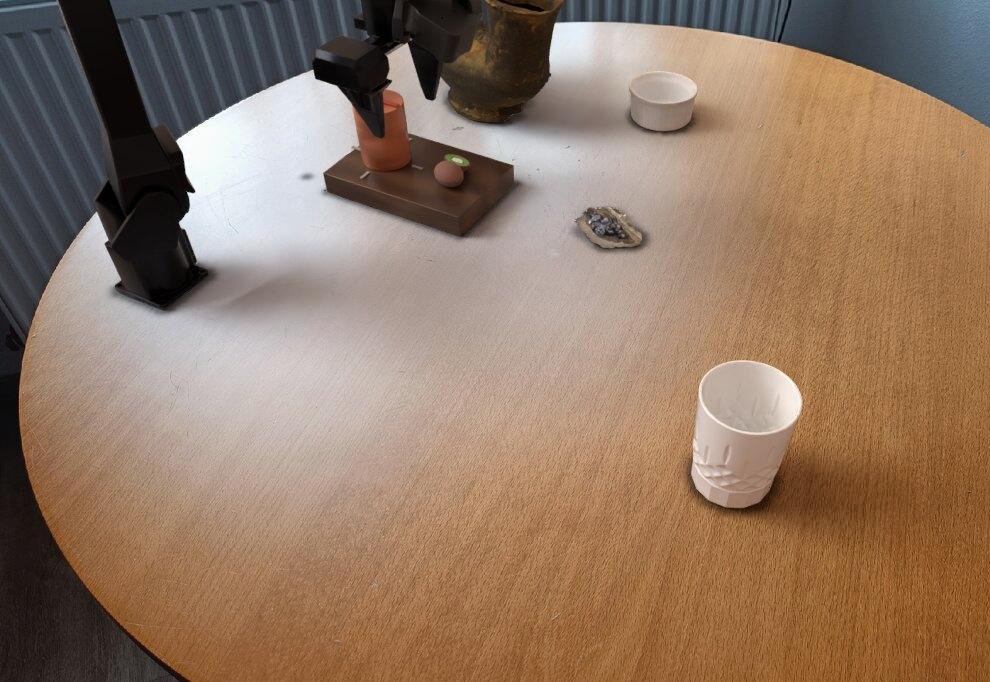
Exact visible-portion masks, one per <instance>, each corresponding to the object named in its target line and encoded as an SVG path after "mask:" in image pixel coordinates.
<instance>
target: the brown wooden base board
mask: <svg viewBox="0 0 990 682" xmlns="http://www.w3.org/2000/svg"><path fill="white" fill-rule="evenodd" d="M408 136H409V143H410V150H411V160H410V162H409V163H408V164H407V165H405V166H404V167H402V168H399V169H396V170H392V171H377V170H373V169H370V168H368V167H366V166H365V165H364V163H363V162H362V157H361V151H360V146H359V145H358V146H355V145H352V146H350V148H351V149H352V150H351V151H350V152H348V153H347V154H346V155H344V156H343V157H342V158H341V159H340V160H338V161H337V162H335V163H334V164H333V165H332V166H330V167H329V168H328V169H326V170H325V171H324V172H323V173H322V175H323V180H324V183H325V189H326V192H327V193H330V194H333V195H336V196H339V197H342V198H345V199H348V200H351V201H354V202H356V203H360V204H363V205H365V206H368V207H371V208H374V209H377V210H381V211H383V212H387V213H389V214H392V215H395V216H398V217H401V218H404V219H407V220H410V221H413V222H416V223H419V224H422V225H425V226H427V227H428V226H429V227H431V228H434V229H436V230H440V231H443V232H446V233H449V234H452V235H454V236H458V237H462V236H463V235H464V234H465V233H466V232H467V231H468V230H469V229H470V228H471V227H472V226H473V225H474V224H475V223H476V222H477V221H478V220H479V219H480V218H481V217H483V215H484V214H485V213H486V212H487V211H488V210H489V209H490V208H491V207H492V206H493V205H495V204H496V202H498V201H499V200H500V199H501V198H502V196H503V195H505V193H507V192H508V191H509V189H511V188H512V187H513V186H514V185H515V166H514V164H511V163H508V162H504V161H502V160H498V159H495V158H492V157H488V156H485V155H481V154H479V153H475V152H471V151H469V150H465V149H463V148H458V147H456V146H452V145H449V144H445V143H442V142H439V141H436V140H432V139H429V138H426V137H422V136H419V135H417V134H412V133H409V132H408ZM446 154H455V155H459V156H461V157H463V158H465V159H467V160H468V161H469V162H470V166H469V168H468V169H467V170H466V171H463V174H464V178H463V181H462V183H461V184H460V185H458V186H456V187H446V186H443V185H442V184H440V183H439V182H438V181H437V179H436V178H435V174H434V169H435V167H436V165H437V164H438V163H440V162H442V161H445V160H444V156H445V155H446Z"/></svg>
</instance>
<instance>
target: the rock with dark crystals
mask: <svg viewBox="0 0 990 682" xmlns="http://www.w3.org/2000/svg"><path fill="white" fill-rule="evenodd" d="M626 217H627V213H624V214H622V212H621V211H620V209H618V208H616V207H614V208H613V207H612V206H604V207H603V206H602V207H600V208H599V207H598V206H597V207H593V206H589V207H587V208H586V210H584V211H583V212H582V217H581V216H579V217H576V218H573V219H574V223H575V224H576V223H577V227H578V228H579V230H581V231H582V232H583V233H586V235H585V236H586V237H588V238H589V240H590V241H591V242H592V243H595V244H597V245H599V246H600V248H602V249H607V248H608V249H615V248H634V247H638V246H639V245H641V242H642V241H643V235H642V233H641V232H639V230H637V229H636V227H634V226H633V227H632V226H630V225H629V224H628V223H631V222H632V220H628V219H627V218H626Z"/></svg>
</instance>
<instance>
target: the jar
mask: <svg viewBox="0 0 990 682" xmlns="http://www.w3.org/2000/svg"><path fill="white" fill-rule="evenodd" d="M383 103H384V117H385V137H383V138H378V137H375V136H374V135H373V134H372V132H371V131H370V129H369V128H368V126H367V125H366V124H365V122H364V121H363V119H362V118H361V116H360V115H359V114H358V112H357V111H356V109H355V108H354V107H353V105H352V104H351V107H352V114H353V119H354V124H355V129H356V135H357V141H358V146H360V151H361V157H362V162H363V163H364V165H365V166H366V167H368V168H370V169H373V170H377V171H392V170H396V169H399V168H402V167H404V166H405V165H407V164H408V163H409V162H410V160H411V150H410V143H409V136H408V133H409V130H408V122H407V115H406V114H407V113H406V108H405V101H404V97H403V96H402V94H400V93H399V92H397V91H394V90H391V89H387V88H386V89H385V90H384V91H383Z"/></svg>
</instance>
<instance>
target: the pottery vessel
mask: <svg viewBox="0 0 990 682" xmlns="http://www.w3.org/2000/svg"><path fill="white" fill-rule="evenodd" d="M483 2H484V5H485V9H486V13H487V18H488V23H487V22H484V27H483V28H482V29H481V30H479V31H478V32H476V34H475V37H474V41H473V44H472V48H471V50H470V51H469V52H466V53H464V54H463V55H461V56H460V57H459V58H458V59H457V60H456V61H455V62H453V63H450V64H448V63H444V64H443V68H442V73H441V77H440V79H441V80H442V81H443V82H444V83H445V84H446V85H447V86H448V87H449V90H448V93H447V101H448V103H449V105H450V107H451V108H452V109H453V110H454V111H455V112H456V113H457V114H460V115H461V116H464V117H465V118H467V119H468V120H473V121H477V122H486V123H497V124H498V123H499V124H501V123H505V122H507V121H508V120H509V119H510V118H511V116H515V115H519V114H521V113H522V112H523V103H524V102H525V103H528V101H530V100H532V99H534V98H535V97H536V96H537V95H538V94H539V93H540V92H541V90H543V89H544V87H545V85H546V84H547V83H549V80H550V78H551V77H552V73H551V69H550V68H551V62H550V55H551V47H552V41H553V35H554V30H555V25H556V22H557V19H558V16H559V14H560V11H561V10H562V7H563V5H564V3H565V0H483Z"/></svg>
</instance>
